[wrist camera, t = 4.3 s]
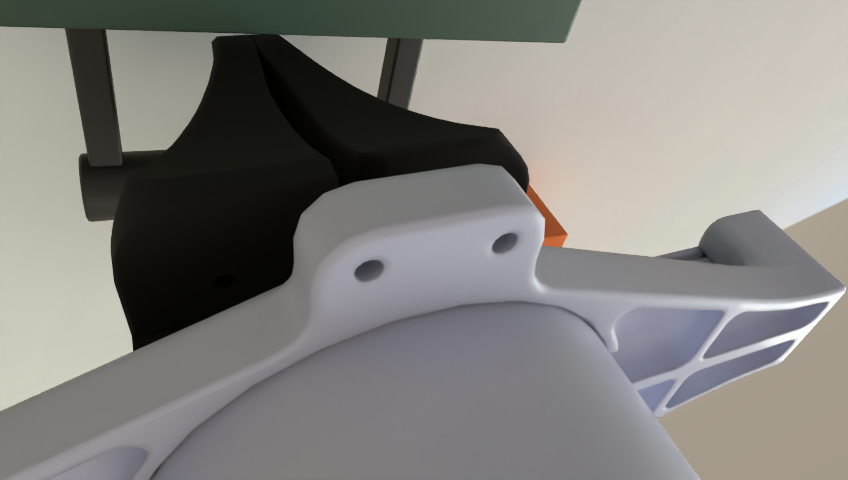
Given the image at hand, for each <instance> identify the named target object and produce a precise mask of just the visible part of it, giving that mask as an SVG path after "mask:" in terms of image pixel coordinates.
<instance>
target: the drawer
mask: <svg viewBox="0 0 848 480" xmlns="http://www.w3.org/2000/svg"><path fill="white" fill-rule="evenodd" d="M581 1H582V0H0V26H6V27H40V28H65V31H66V37H67V42H68V48H69V54H70V59H71V65H72V70H73V76H74V81H75V87H76V92H77V98H78V104H79V109H80V115H81V120H82V126H83V131H84V137H85V142H86V148H87V153H86V154H81V155H80V156H79V175H80V185H81V192H82V199H83V205H84V210H85V214H86V217H87V219H88V221H91V222H94V221H106V220H114V217H115V212H116V208H117V204H118V200H119V197H120V194H121V191H122V187H123V185H124V182H125V180H126V178H127V177H128V176H130V175H132V174H134V173H135V172H137V171H138V170H140V169H142V168H143V167H145V166H146V165H148V164H149V163H151V162H153V161H154V160H155V159H157V158H158V157H159V156H161V155H162V154H163V153H164V152H165V151H166V150H153V151H130V152H122V146H121V139H120V131H119V124H118V117H117V109H116V102H115V94H114V87H113V79H112V72H111V65H110V57H109V50H108V42H107V35H106V29H108V30H141V31H175V32H209V33H243V34H277V35H310V36H344V37H378V38H388V40H387V45H386V51H385V56H384V62H383V67H382V73H381V78H380V84H379V89H378V95H377V98H379V99H381V100H383V101H385V102H388V103H390V104H393V105H395V106H398V107H401V108H404V109H407V110H408V107H409V103H410V98H411V94H412V89H413V85H414V80H415V76H416V71H417V67H418V62H419V58H420V53H421V49H422V44H423V40H424V39H445V40H479V41H513V42H547V43H564V42H565V41H566V40H567V38H568V35H569V32H570V30H571V27H572V25H573V22H574V19H575V17H576V14H577V12H578V9H579V6H580V4H581Z"/></svg>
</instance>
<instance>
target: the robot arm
mask: <svg viewBox="0 0 848 480" xmlns="http://www.w3.org/2000/svg"><path fill="white" fill-rule="evenodd" d="M212 49H213V57H214V61H213V67H212V71H211V75H210V79H209V83H208V85H207V88H206V91H205V93H204V96H203V98H202V101H201V103H200V105H199V107H198V109H197V111H196V113H195V114H194V116H193V118H192V119H191V121H190V123H189V124H188V126H187V127H186V128H185V130H184V131H183V132H182V134H181V135H180V136H179V138H178V139H177V140H176V141H175V142H174V143H173V145H172V146H171V147H169V148H168V149H167V150H166V151H165V152H164V153H163V154H162V155H161V156H159V157H158V158H157V159H155V160H154V161H153V162H151V163H149V164H148V165H146V166H145V167H143V168H142V169H140V170H138V171H137V172H135V173H134V174H132V175H130V176H128V177H127V178H126V180H125V182H124V185H123V187H122V191H121V194H120V197H119V200H118V204H117V208H116V212H115V217H114V222H113V228H112V236H111V258H112V267H113V276H114V283H115V286H116V289H117V292H118V295H119V298H120V301H121V304H122V307H123V310H124V313H125V316H126V319H127V322H128V325H129V329H130V332H131V335H132V342H133V352H131V353H129V354H127V355H124V356H122V357H120V358H118V359H116V360H113V361H111V362H109V363H107V364H104V365H102V366H100V367H98V368H96V369H93V370H91V371H89V372H87V373H84V374H82V375H80V376H78V377H76V378H73V379H71V380H69V381H67V382H64V383H62V384H60V385H58V386H56V387H53V388H51V389H49V390H47V391H44V392H42V393H40V394H38V395H36V396H33V397H31V398H29V399H27V400H24V401H22V402H20V403H18V404H16V405H13V406H11V407H9V408H7V409H4V410H2V411H0V480H700V478H699V477H698V476H697V474H696V473H695V471H694V470H693V469H692V467H691V466H690V464H689V463H688V462H687V460H686V459H685V458H684V456H683V455H682V453H681V452H680V450H679V449H678V448H677V446H676V445H675V443H674V442H673V441H672V439H671V438H670V436H669V435H668V434H667V432H666V431H665V430H664V428H663V427H662V425H661V424H660V422H659V421H658V420H657V418H658V417H660V416H662V415H664V414H666V413H668V412H670V411H672V410H674V409H676V408H678V407H680V406H682V405H684V404H686V403H688V402H690V401H692V400H694V399H696V398H698V397H701V396H703V395H705V394H707V393H709V392H711V391H713V390H715V389H717V388H719V387H722V386H724V385H726V384H728V383H731V382H733V381H735V380H738V379H740V378H742V377H745V376H747V375H749V374H752V373H755V372H757V371H760V370H763V369H765V368H768V367H770V366H773V365H776V364H779V363H780V362H782V361H783V360H784V359H785V358H786V356H787V355H788V354H789V353H790V352H791V351H792V350H793V349H794V347H796V345H797V344H798V343H799V342H800V341H801V340H802V339H803V338H804V337H805V336H806V334H807V333H808V332H809V331H810V330H811V329H812V328H813V327H814V326H815V325H816V323H817V322H818V321H819V320H820V319H821V318H822V317H823V316H824V315H825V314H826V312H827V311H828V310H829V309H830V308H831V307H832V306H833V305H834V304H835V302H836V301H837V300H838V299H839V298H840V297H841V296H842V295H843V294H844V293H845V286H844V285H843V284H842V283H841V282H840V281H838V280H837V279H836V278H835V277H834V276H833V275H832V274H831V273H830V272H828V271H827V270H826V269H825V268H824V267H823V266H822V265H820V264H819V263H818V262H817V261H816V260H815V259H814V258H812V256H810V255H809V254H808V253H807V252H806V251H805V250H804V249H803V248H801V247H800V246H799V245H798V244H797V243H796V242H795V241H794V240H793V239H791V238H790V237H789V236H788V235H787V234H786V233H785V232H784V231H782V230H781V229H780V228H779V227H778V226H777V225H776V224H775V223H774V222H772V221H771V220H770V219H769V218H768V217H767V216H766V215H765V214H763V213H762V212H761V211H760V210H754V211H749V212H744V213H740V214H735V215H731V216H726V217H723V218H720V219H718V220H716V221H715V222H714V223H712V224H711V225H710V226H709V227H708V228H707V230H706V231H705V233H704V234H703V236H702V238H701V240H700V242H699V246H698V247H694V248H690V249H686V250H681V251H677V252H673V253H669V254H665V255H660V256H656V257H647V256H638V255H628V254H619V253H610V252H600V251H591V250H581V249H572V248H563V247H553V246H544V245H542V243H543V241H544V232H545V218H544V217H543V216H542V214H541V213H540V212H539V210H538V209H537V208H536V206H535V205H534V204H533V203H532V201H531V200H530V199H529V197H528V196H527V190H528V184H529V175H528V168H527V165H526V164H525V162H524V160H523V159H522V157H521V156H520V154H519V153H518V152H517V151H516V149H515V148H514V147H513V146H512V144H511V143H510V142H509V141H508V139H507V138H506V137H505V136H504V135H503V133H502V132H501V131H500V130H499V129H496V128H488V127H481V126H474V125H467V124H460V123H455V122H450V121H446V120H441V119H437V118H433V117H429V116H426V115H422V114H419V113H416V112H413V111H410V110H407V109H404V108H401V107H398V106H395V105H393V104H390V103H388V102H385V101H383V100H381V99H379V98H377V97H374V96H372V95H370V94H368V93H366V92H364V91H362V90H360V89H358V88H356V87H354V86H353V85H351V84H349V83H347V82H346V81H344V80H342V79H341V78H339V77H337V76H336V75H334V74H333V73H331V72H330V71H328V70H326V69H325V68H324V67H322V66H321V65H319V64H318V63H316V62H315V61H313V60H312V59H311V58H309V57H308V56H307V55H305V54H304V53H302V52H301V51H300V50H298V49H297V48H296V47H294V46H293V45H292V44H290V43H289V42H288V41H286V40H285V39H284V38H282V37H281V36H279V35H277V34H254V35H236V36H218V37H216V38H215V39H214V40H213V41H212Z"/></svg>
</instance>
